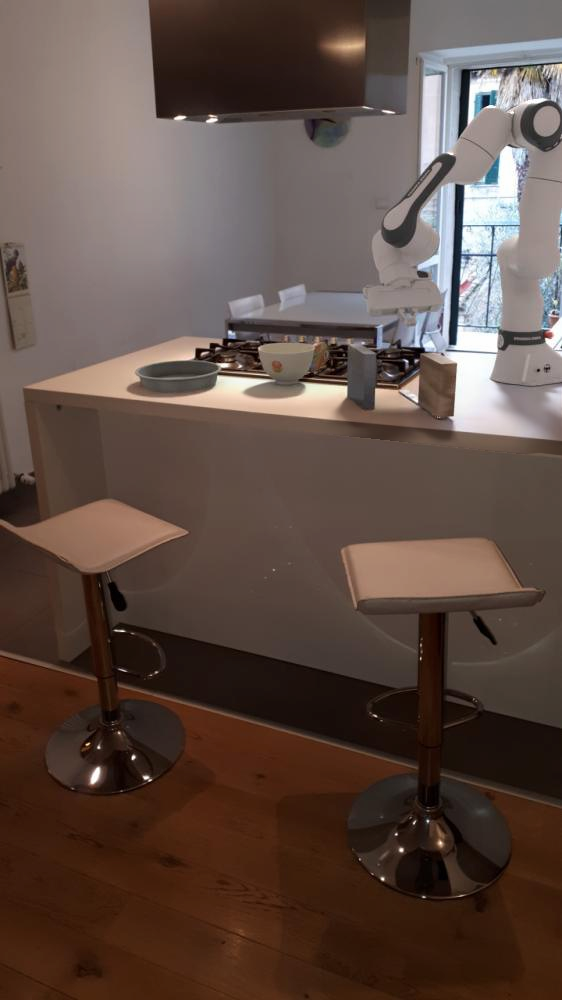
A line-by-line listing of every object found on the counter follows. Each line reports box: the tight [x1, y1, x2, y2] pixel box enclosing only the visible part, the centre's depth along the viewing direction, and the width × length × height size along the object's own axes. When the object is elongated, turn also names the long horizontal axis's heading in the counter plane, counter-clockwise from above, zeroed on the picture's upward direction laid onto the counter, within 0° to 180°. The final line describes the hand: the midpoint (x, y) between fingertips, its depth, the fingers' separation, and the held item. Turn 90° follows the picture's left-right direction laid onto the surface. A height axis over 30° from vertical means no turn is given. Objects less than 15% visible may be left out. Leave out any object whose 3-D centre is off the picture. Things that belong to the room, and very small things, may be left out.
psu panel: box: [346, 342, 435, 417], centre depth 203 cm, size 17×27×14 cm, turn 12°
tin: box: [308, 341, 331, 373], centre depth 243 cm, size 15×3×8 cm, turn 155°
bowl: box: [257, 342, 315, 386], centre depth 229 cm, size 16×16×10 cm
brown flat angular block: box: [417, 352, 458, 419], centre depth 196 cm, size 4×13×13 cm, turn 12°
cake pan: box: [134, 359, 222, 393], centre depth 232 cm, size 25×25×4 cm
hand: (410, 325), depth 210 cm, fingers closed
